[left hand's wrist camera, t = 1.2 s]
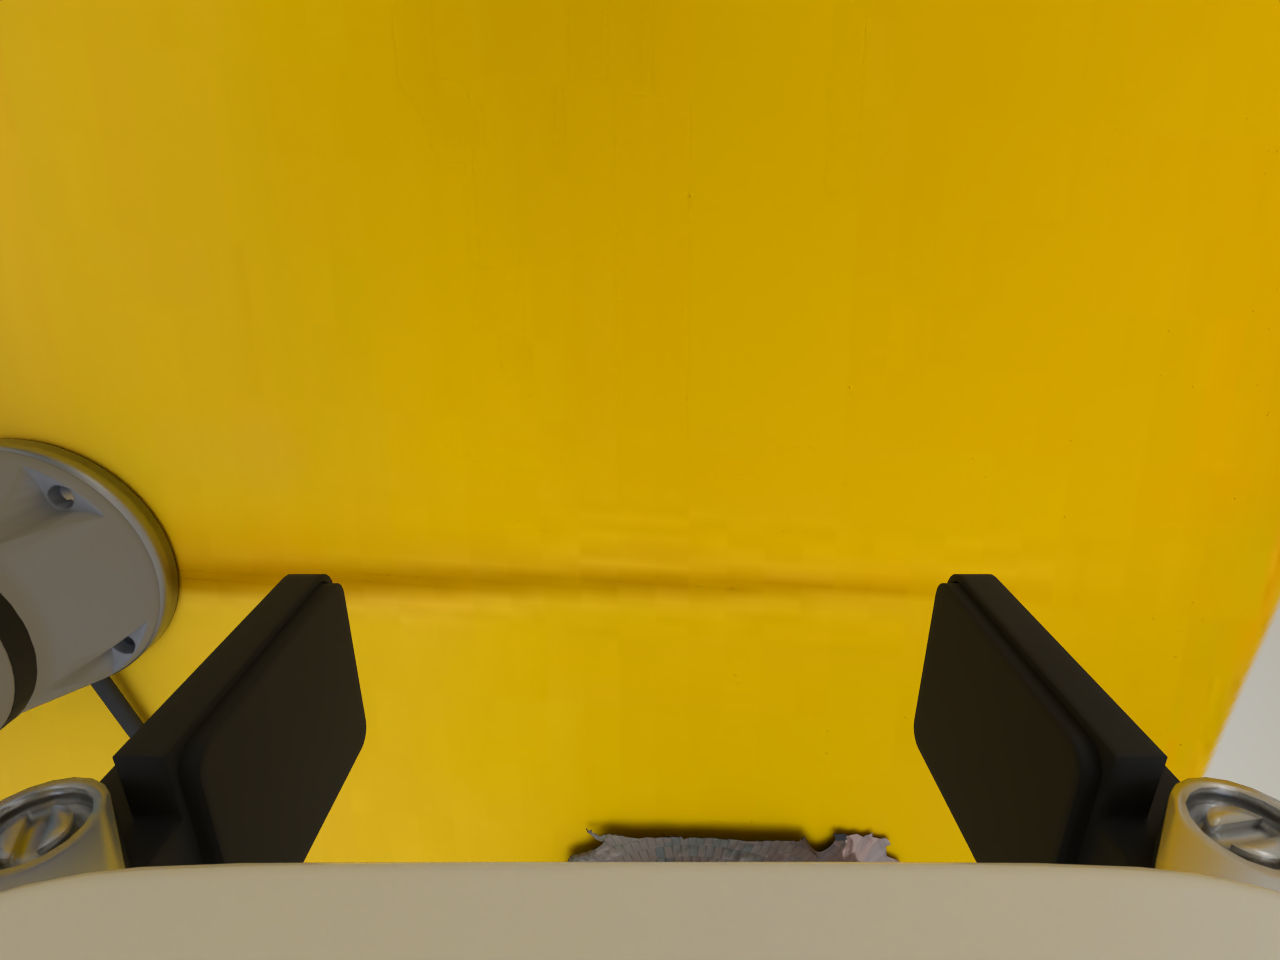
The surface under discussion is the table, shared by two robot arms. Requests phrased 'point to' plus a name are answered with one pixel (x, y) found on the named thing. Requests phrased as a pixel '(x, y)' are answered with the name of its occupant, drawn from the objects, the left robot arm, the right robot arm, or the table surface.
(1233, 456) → the table surface
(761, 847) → the sculpture
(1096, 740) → the left robot arm
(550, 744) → the table surface
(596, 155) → the table surface
